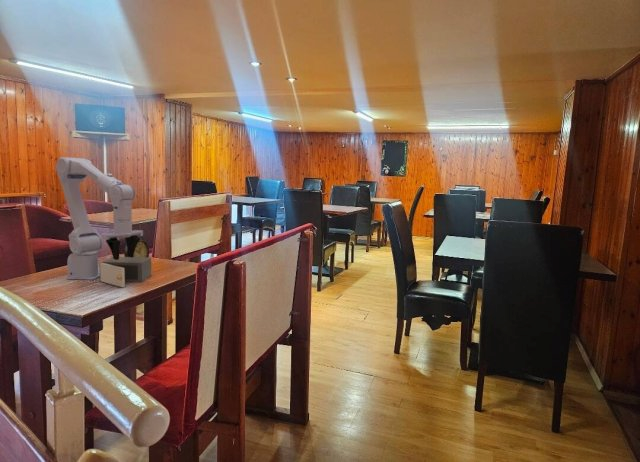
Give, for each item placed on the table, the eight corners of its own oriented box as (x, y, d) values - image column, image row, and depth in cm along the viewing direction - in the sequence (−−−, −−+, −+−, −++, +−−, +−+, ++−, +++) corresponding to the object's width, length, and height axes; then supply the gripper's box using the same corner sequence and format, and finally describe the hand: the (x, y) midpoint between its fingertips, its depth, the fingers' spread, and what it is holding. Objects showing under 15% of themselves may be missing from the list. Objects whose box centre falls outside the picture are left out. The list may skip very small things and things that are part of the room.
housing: (102, 281, 152) (101, 262, 151) (113, 274, 162) (113, 256, 161) (142, 282, 153) (141, 263, 152) (151, 275, 163) (151, 257, 162)
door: (96, 281, 151) (96, 263, 150) (101, 280, 152) (101, 262, 151) (119, 287, 144) (119, 268, 143) (125, 286, 145) (124, 268, 144)
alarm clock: (134, 272, 168) (133, 231, 165) (121, 270, 169) (121, 230, 166) (150, 266, 178) (149, 228, 176) (138, 265, 179) (138, 227, 177)
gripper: (109, 222, 138) (110, 263, 140) (148, 219, 150) (148, 256, 152) (97, 220, 142) (98, 260, 143) (135, 217, 154) (136, 254, 156)
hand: (123, 258), depth 148 cm, fingers open, 5 cm apart
